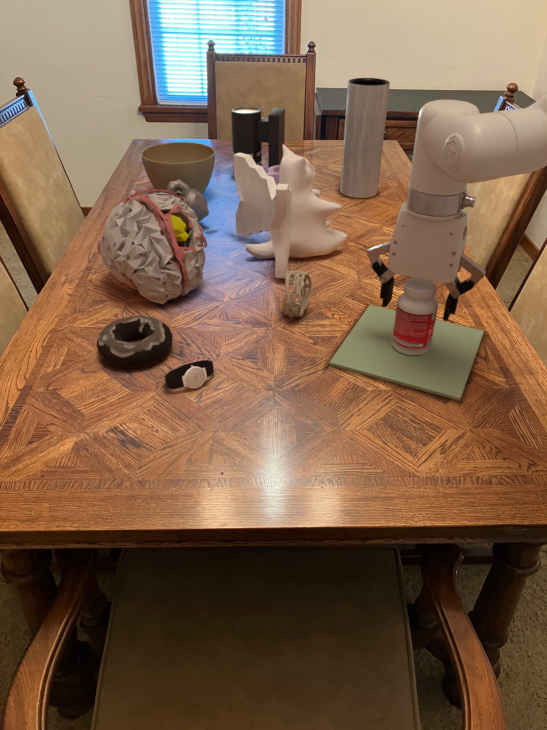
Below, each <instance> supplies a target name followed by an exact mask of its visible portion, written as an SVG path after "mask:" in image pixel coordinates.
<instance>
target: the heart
mask: <svg viewBox="0 0 547 730" xmlns="http://www.w3.org/2000/svg"><path fill="white" fill-rule="evenodd" d="M167 191H173V192H174V193H176V194H177V195H179V196H180V197H182V198H183V199H185V200H186V201H185V200H183V199H181V198H180V199H181V200H182V201H183V202H184V203H186V204H187V205H188V206H189V207H190V208H191V209H192V210H193V211H194V212H195V213H196V216H197V217H198V223H199V222H201V221H202V220H203V219H205V218H206V217H208V216H209V214H210V211H209V207H208V203H207V200H206V199H205V197H204V195H203V194H201V193H200V192H199V191H197V190H196V189H190V188H189V186H188V185H187V184H185V183H184V182H182V181H181V180H175V181H171V182H170V183H169V184H168V186H167ZM171 194H172V193H171ZM173 195H174V194H173ZM174 196H176V195H174ZM176 197H178V196H176ZM178 198H179V197H178ZM187 201H188V202H187ZM189 202H190V203H189Z"/></svg>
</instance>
